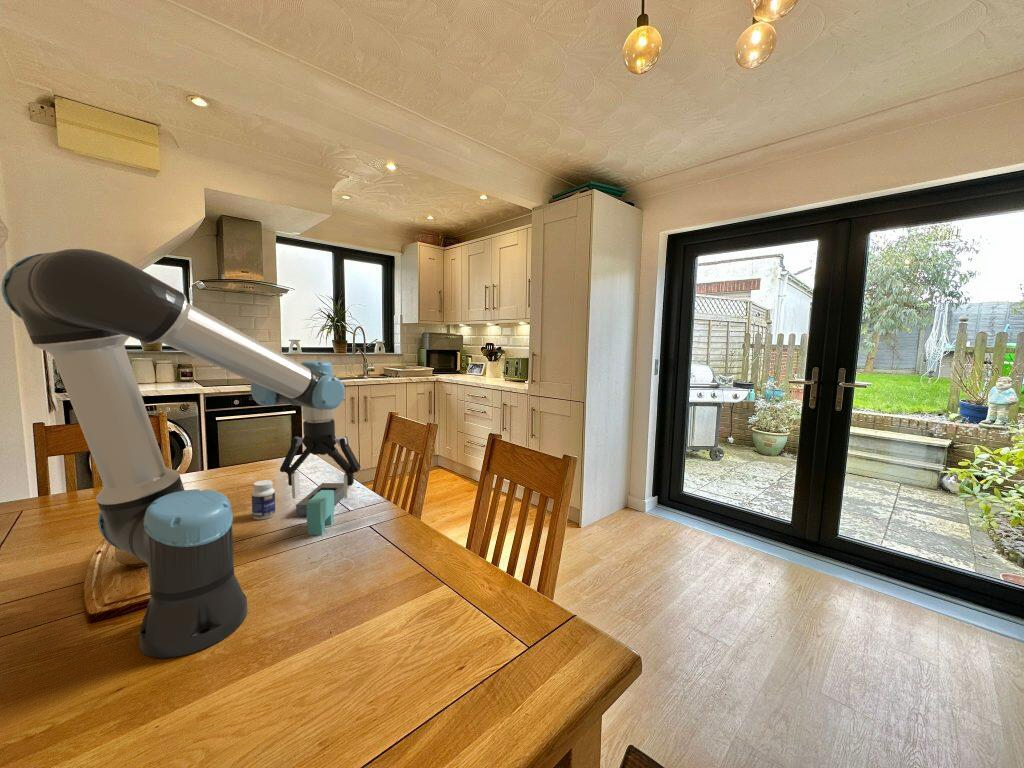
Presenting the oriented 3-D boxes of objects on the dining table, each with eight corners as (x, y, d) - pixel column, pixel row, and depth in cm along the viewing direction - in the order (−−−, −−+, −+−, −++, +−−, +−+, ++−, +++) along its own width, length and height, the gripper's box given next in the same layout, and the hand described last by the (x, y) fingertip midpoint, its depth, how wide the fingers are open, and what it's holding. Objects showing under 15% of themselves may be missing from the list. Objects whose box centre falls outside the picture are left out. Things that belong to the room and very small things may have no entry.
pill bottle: (267, 520, 114) (266, 486, 113) (247, 520, 114) (246, 485, 113) (279, 512, 120) (278, 479, 119) (260, 511, 120) (259, 478, 119)
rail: (324, 516, 117) (324, 505, 117) (296, 516, 117) (296, 504, 117) (347, 493, 135) (347, 483, 135) (322, 493, 135) (322, 482, 134)
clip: (321, 536, 106) (320, 502, 105) (307, 536, 106) (306, 502, 105) (334, 520, 115) (333, 490, 114) (321, 520, 115) (321, 490, 114)
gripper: (371, 417, 112) (372, 491, 114) (278, 416, 110) (281, 491, 113) (362, 423, 104) (364, 502, 107) (262, 422, 103) (267, 502, 106)
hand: (322, 496), depth 110 cm, fingers open, 13 cm apart
